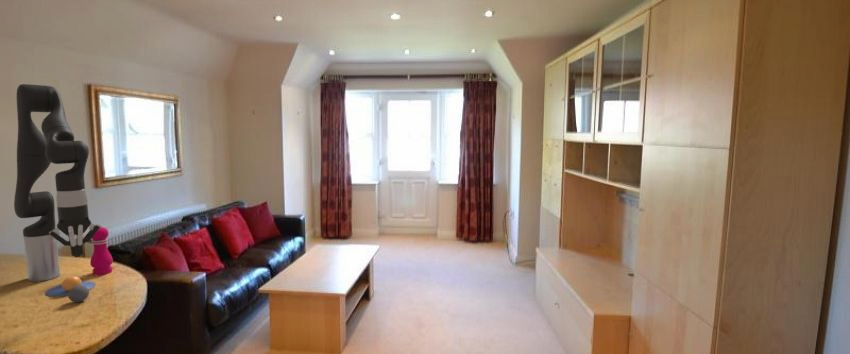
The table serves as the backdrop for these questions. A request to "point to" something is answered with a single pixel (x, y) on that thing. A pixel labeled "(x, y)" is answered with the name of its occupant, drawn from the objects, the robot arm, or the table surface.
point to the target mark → (61, 292)
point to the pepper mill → (101, 252)
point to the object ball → (71, 283)
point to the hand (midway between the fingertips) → (77, 256)
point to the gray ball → (78, 293)
